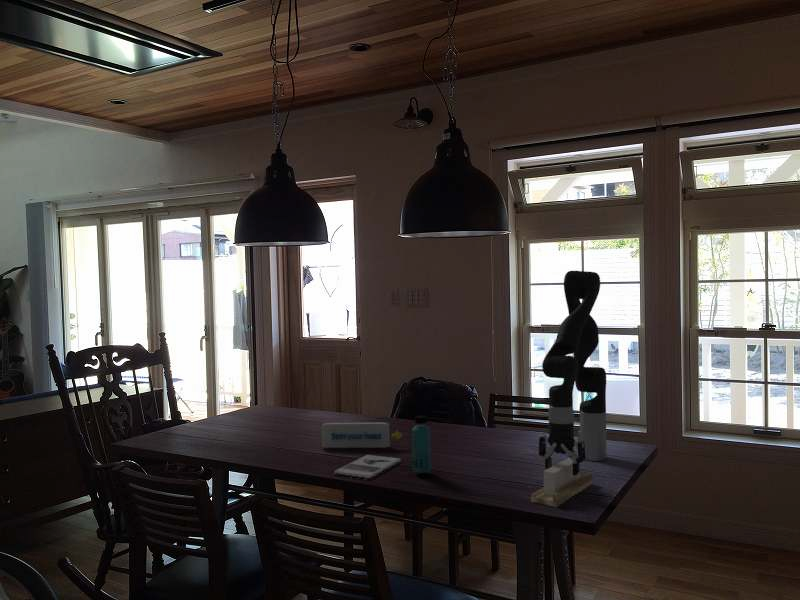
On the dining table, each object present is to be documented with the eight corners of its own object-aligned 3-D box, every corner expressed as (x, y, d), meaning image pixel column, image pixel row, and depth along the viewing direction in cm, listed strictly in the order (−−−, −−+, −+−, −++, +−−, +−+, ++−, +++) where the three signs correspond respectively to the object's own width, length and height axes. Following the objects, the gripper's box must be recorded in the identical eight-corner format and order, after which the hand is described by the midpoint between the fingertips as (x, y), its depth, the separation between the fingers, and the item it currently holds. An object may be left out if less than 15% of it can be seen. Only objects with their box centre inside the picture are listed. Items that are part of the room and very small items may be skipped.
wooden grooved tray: (531, 501, 190) (530, 490, 190) (568, 479, 210) (568, 469, 210) (556, 507, 185) (556, 495, 185) (591, 484, 205) (591, 473, 205)
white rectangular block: (543, 494, 192) (543, 471, 191) (569, 479, 206) (568, 457, 205) (554, 496, 189) (554, 473, 189) (579, 481, 203) (579, 459, 203)
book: (369, 481, 215) (369, 475, 215) (334, 476, 221) (334, 471, 221) (400, 463, 235) (400, 458, 235) (367, 459, 242) (367, 454, 242)
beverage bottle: (431, 471, 223) (430, 413, 222) (431, 477, 216) (430, 417, 216) (412, 471, 223) (411, 414, 223) (412, 477, 216) (411, 418, 216)
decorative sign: (321, 449, 256) (320, 424, 256) (323, 447, 260) (322, 422, 260) (402, 449, 254) (401, 424, 254) (402, 447, 258) (402, 422, 258)
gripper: (588, 420, 195) (589, 473, 196) (545, 415, 204) (546, 466, 205) (578, 425, 190) (579, 479, 190) (534, 419, 198) (535, 471, 199)
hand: (562, 472), depth 197 cm, fingers open, 8 cm apart
